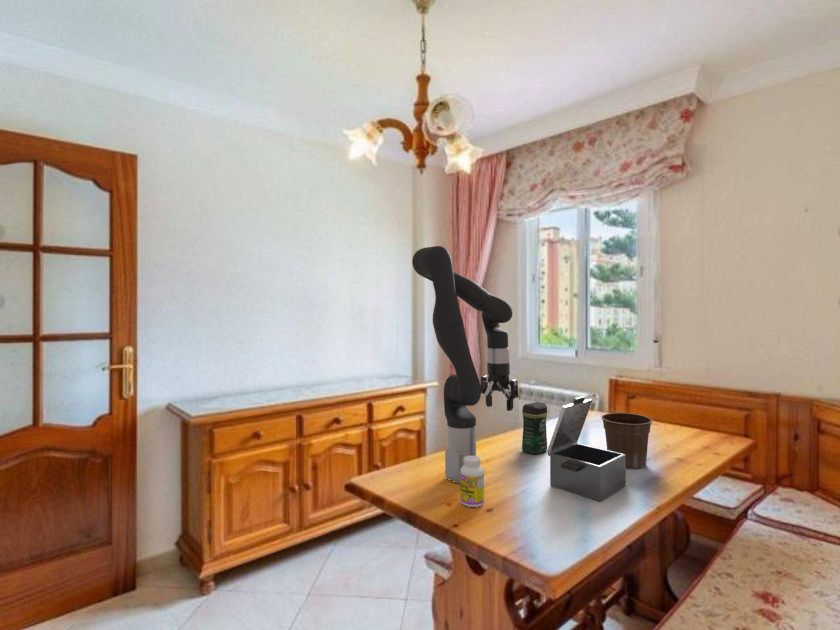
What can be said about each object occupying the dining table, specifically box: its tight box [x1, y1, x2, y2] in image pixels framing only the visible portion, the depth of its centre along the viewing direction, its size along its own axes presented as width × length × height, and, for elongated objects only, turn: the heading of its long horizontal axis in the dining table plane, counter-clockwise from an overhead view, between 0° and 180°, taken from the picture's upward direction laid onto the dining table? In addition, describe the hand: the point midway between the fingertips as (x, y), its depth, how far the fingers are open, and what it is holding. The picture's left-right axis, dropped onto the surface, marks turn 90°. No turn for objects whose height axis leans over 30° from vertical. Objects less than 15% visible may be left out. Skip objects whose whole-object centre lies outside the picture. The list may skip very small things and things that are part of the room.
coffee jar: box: [521, 401, 548, 455], centre depth 176 cm, size 10×8×19 cm
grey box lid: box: [546, 395, 593, 457], centre depth 146 cm, size 16×19×2 cm
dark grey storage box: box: [549, 442, 627, 503], centre depth 141 cm, size 22×16×10 cm
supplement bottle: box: [459, 455, 485, 508], centre depth 130 cm, size 7×7×13 cm
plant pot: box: [600, 412, 653, 470], centre depth 161 cm, size 16×16×16 cm
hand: (499, 408), depth 157 cm, fingers open, 8 cm apart
